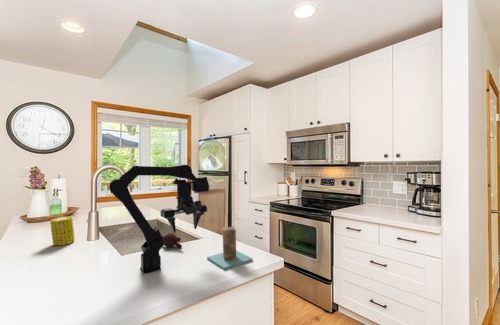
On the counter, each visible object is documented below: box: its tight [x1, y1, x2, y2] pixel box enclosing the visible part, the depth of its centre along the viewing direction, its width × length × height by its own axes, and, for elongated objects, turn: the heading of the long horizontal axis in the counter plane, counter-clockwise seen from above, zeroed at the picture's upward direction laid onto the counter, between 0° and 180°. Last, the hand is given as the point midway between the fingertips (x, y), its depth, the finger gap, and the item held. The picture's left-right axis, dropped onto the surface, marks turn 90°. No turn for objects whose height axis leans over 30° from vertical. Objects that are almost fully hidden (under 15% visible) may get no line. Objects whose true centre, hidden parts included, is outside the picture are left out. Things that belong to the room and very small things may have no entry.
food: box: [50, 215, 76, 246], centre depth 135 cm, size 15×12×10 cm
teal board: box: [206, 250, 254, 271], centre depth 108 cm, size 14×14×1 cm
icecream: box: [162, 232, 183, 249], centre depth 127 cm, size 7×7×15 cm
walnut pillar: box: [222, 226, 237, 261], centre depth 108 cm, size 5×5×12 cm
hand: (185, 230), depth 108 cm, fingers open, 9 cm apart
